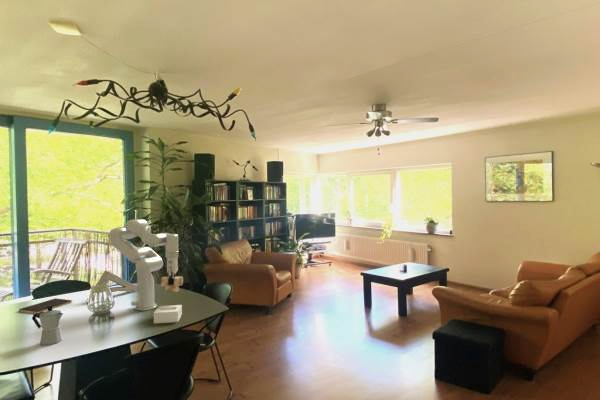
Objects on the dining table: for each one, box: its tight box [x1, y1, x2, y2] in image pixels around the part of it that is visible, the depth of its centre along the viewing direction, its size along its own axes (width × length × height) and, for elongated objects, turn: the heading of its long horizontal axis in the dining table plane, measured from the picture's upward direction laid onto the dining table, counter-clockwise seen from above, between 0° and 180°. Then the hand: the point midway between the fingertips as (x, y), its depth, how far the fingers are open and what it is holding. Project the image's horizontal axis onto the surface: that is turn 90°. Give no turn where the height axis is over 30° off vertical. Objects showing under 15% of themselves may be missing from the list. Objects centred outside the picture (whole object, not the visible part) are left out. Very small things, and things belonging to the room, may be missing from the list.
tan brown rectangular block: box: [160, 275, 184, 293], centre depth 215 cm, size 12×5×8 cm, turn 99°
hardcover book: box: [18, 297, 73, 315], centre depth 226 cm, size 16×23×2 cm
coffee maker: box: [31, 305, 64, 347], centre depth 171 cm, size 15×9×18 cm, turn 92°
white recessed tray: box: [153, 304, 183, 324], centre depth 202 cm, size 13×12×6 cm
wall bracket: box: [86, 270, 138, 301], centre depth 249 cm, size 22×4×30 cm
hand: (172, 283), depth 215 cm, fingers closed on tan brown rectangular block, 5 cm apart
